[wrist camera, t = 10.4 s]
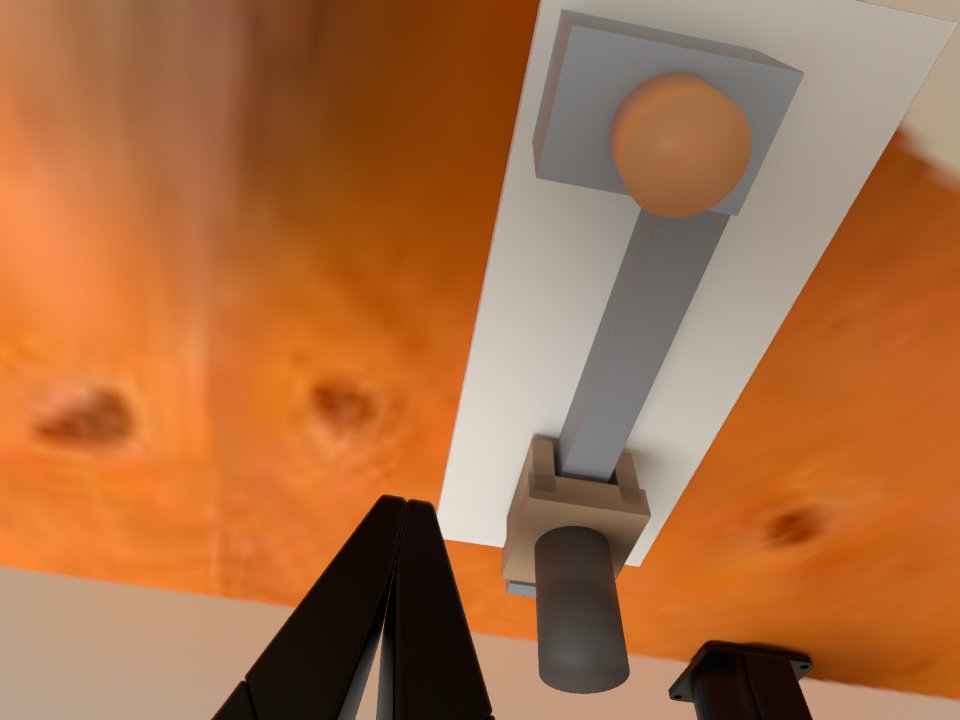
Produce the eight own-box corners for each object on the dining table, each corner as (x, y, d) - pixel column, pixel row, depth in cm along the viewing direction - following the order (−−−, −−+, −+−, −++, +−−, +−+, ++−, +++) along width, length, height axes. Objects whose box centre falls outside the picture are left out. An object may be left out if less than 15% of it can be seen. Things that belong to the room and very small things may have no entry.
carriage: (599, 531, 26) (626, 715, 20) (501, 517, 25) (499, 699, 19) (636, 454, 23) (682, 642, 17) (527, 437, 22) (533, 622, 16)
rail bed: (635, 548, 28) (651, 627, 25) (434, 519, 28) (425, 596, 24) (934, 18, 15) (1053, 41, 11) (553, -66, 14) (566, -66, 11)
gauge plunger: (696, 195, 13) (719, 227, 12) (595, 176, 13) (606, 206, 12) (742, 84, 12) (774, 105, 10) (630, 61, 12) (647, 79, 10)
